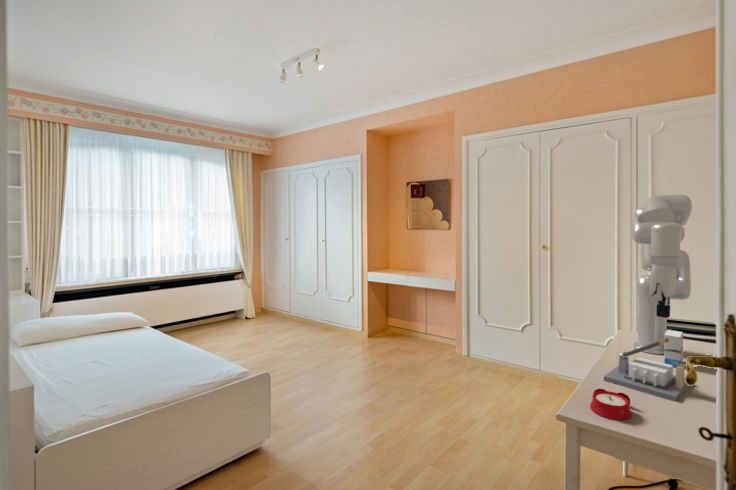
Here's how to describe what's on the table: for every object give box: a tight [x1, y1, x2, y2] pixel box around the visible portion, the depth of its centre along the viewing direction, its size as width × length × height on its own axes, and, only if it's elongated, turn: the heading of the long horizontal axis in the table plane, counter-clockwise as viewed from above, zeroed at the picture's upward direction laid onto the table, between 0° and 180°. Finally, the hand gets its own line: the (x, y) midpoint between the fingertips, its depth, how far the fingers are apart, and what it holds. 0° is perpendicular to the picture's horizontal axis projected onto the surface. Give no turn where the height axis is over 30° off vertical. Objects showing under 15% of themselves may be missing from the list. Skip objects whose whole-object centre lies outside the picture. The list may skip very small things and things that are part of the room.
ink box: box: [663, 329, 684, 368], centre depth 145 cm, size 9×5×12 cm, turn 135°
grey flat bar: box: [619, 338, 670, 359], centre depth 130 cm, size 16×4×2 cm
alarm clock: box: [589, 387, 633, 421], centre depth 114 cm, size 10×6×15 cm
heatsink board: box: [603, 356, 690, 402], centre depth 130 cm, size 18×20×8 cm
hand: (663, 316), depth 125 cm, fingers closed
